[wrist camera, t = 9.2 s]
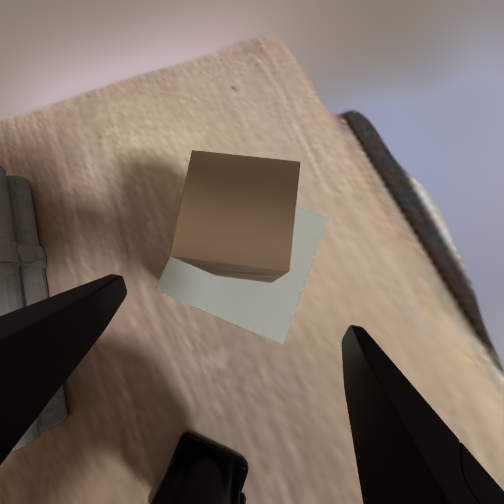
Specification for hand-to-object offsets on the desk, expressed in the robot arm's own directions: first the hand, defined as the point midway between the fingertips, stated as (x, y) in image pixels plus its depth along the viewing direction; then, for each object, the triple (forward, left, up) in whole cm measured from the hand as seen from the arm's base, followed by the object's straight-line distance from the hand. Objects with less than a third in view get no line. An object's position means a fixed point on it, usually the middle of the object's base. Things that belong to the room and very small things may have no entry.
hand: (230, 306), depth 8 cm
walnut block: (-1, +4, -10) cm, 11 cm away
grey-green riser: (-2, +4, -14) cm, 15 cm away
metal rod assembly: (-20, -7, -14) cm, 26 cm away
